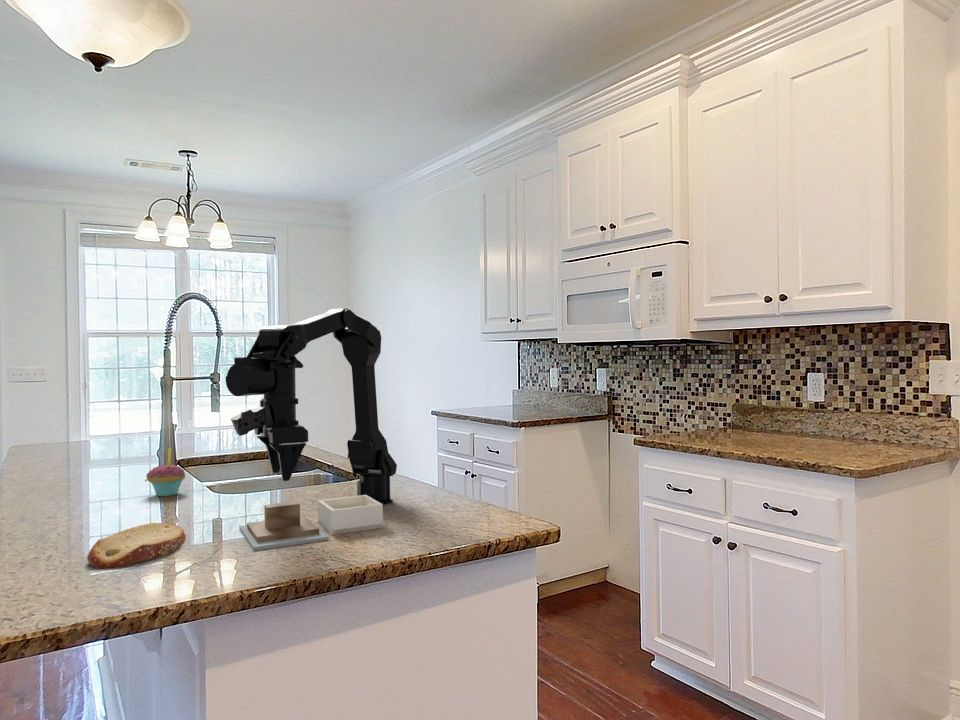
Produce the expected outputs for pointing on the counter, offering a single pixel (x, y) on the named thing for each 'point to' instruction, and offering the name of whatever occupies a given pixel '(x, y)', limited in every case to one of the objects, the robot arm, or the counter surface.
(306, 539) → the mat
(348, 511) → the dish
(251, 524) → the lid
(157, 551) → the slice of bread
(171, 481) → the cupcake
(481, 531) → the counter surface
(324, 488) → the counter surface
